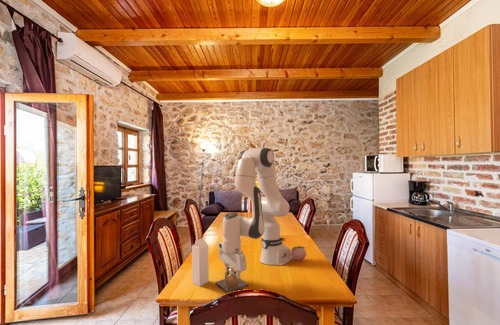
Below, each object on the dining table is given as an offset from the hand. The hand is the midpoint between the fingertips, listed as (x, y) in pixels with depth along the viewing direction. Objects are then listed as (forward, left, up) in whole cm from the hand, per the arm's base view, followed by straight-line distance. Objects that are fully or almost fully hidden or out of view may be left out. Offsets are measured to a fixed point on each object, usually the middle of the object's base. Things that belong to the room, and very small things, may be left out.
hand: (232, 274), depth 126 cm
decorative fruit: (-47, -1, -5) cm, 48 cm away
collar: (+1, 0, -4) cm, 4 cm away
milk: (+12, -12, -5) cm, 18 cm away
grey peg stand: (+1, 0, -5) cm, 5 cm away
